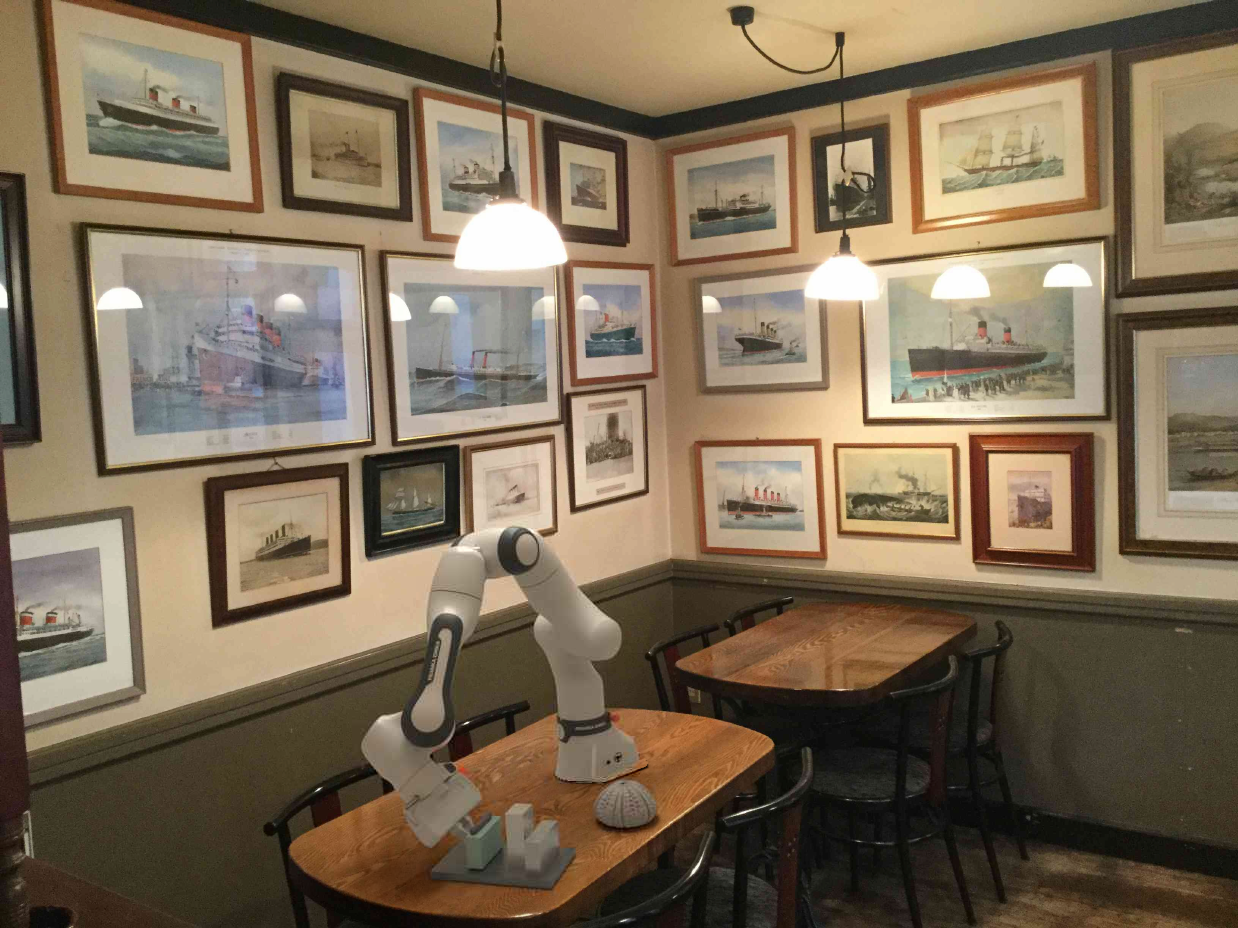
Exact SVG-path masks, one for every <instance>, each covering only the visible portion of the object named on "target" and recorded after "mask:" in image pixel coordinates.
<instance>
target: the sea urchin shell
mask: <svg viewBox="0 0 1238 928" xmlns="http://www.w3.org/2000/svg"><path fill="white" fill-rule="evenodd" d="M656 802H657V801H656V800H655V796H653V795H652V793H651V792H650V791H649V790H648V788H646V787H645V786H644V785H643V784H642V783H640V782H638V781H636V780H632V779H631V780H626V779H625V780H624V779H619V780H616V781H614V782H613V783H611V784H610V785H609V786H606V788H603V790H602V791H601V792H599V795H598V796H597V797H596V800H595V801H594V803H593V810H594V811H593V814H594V815H595V817H596V818H597V819H598V821H599V822H602V824H605V825H606V826H608V827H616V828H618V829H619V828H621V829H623V828H627V829H631V828H630V827H633V828H638V827H639V826H640V825H642V826H643V825H645V824H648V823H649V822H652V820H653V819H654V818H655V817H656V814H657V810H658V807H657V806H658V804H657V803H656ZM637 826H638V827H637ZM640 827H641V826H640Z"/></svg>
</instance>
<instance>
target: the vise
mask: <svg viewBox="0 0 1238 928" xmlns="http://www.w3.org/2000/svg"><path fill="white" fill-rule="evenodd" d="M559 836H560V835H559V823H558V820H551V819H550V820H549V819H542V820H541V822H539V824H538V825H537V826H536V827H535V829H534V831H533V832H532V833H531V834H530V836H529V837H528V838H527V839H526V840H525V841H524V852H525V867H517V866H508V852H507V842H503V847H502V848H501V849H500V850H499V851H498V853H497V854H496V855H495V856H494V857H493V858H492V859H491V860H490V861H489V862H488V864H487V865H486V866H485V867H484V868H483V869H473V868H468V866H467V850H466V843H465V842H464V841H463V840H461V839H460V841H459V842H457V844H456V845H455V846H454V847H453V848H451V850H450V851H449V852H448V853H446V855H445V856H443V858H441V860H440V861H439V862H438V863H437V864H435V865H434V867H433V868H432V869H430V871H429V875H430V876H429V877H430V878H429V879H430V880H435V881H436V880H437V881H449V882H461V883H470V884H471V883H474V884H483V885H495V886H496V885H497V886H506V887H507V886H508V887H518V888H520V887H521V888H531V889H542V890H544V889H545V890H552V888H553V887H554V886H555V884H556V883H557V881H558V880H559V879H560V878H561V876H562V874H563V873H564V872H565V870H566V869H567V868H568V866H569V865H570V864H571V862H572V861H573V859H574V858H575V857H574V856H576V847H570V846H560V839H559Z"/></svg>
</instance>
